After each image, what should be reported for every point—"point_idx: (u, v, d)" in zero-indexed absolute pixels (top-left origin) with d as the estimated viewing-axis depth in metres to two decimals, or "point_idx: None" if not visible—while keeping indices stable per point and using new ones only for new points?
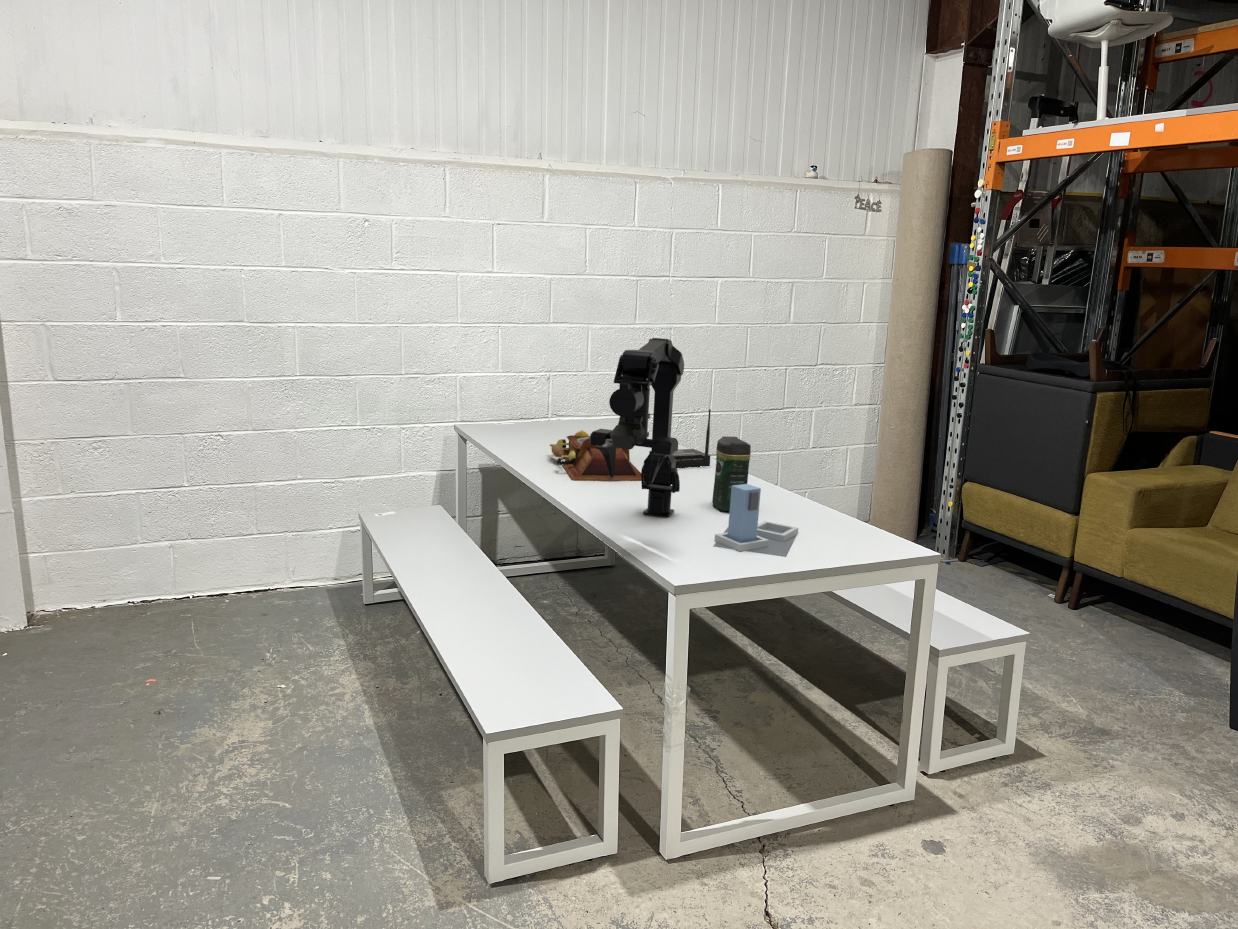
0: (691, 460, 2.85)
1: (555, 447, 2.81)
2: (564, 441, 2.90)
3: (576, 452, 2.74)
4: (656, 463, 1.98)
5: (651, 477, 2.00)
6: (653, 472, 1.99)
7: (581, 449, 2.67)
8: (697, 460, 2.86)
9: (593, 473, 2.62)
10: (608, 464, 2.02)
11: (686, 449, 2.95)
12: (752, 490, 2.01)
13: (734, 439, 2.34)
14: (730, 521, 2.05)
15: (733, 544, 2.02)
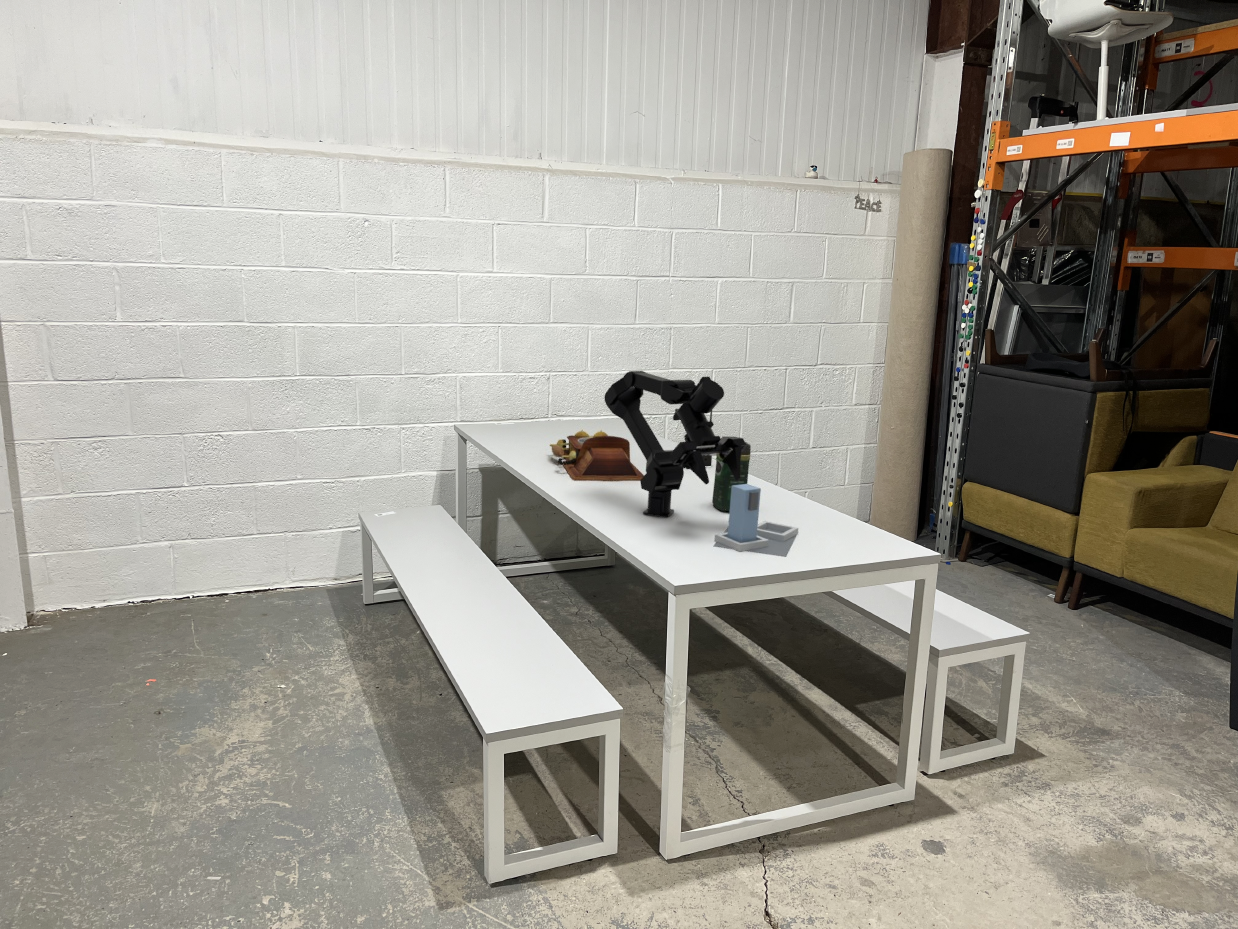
0: None
1: (555, 447, 2.81)
2: (564, 441, 2.90)
3: (577, 452, 2.74)
4: None
5: None
6: None
7: (582, 449, 2.68)
8: None
9: (594, 473, 2.62)
10: None
11: None
12: (752, 490, 2.01)
13: None
14: (730, 521, 2.05)
15: (733, 544, 2.02)
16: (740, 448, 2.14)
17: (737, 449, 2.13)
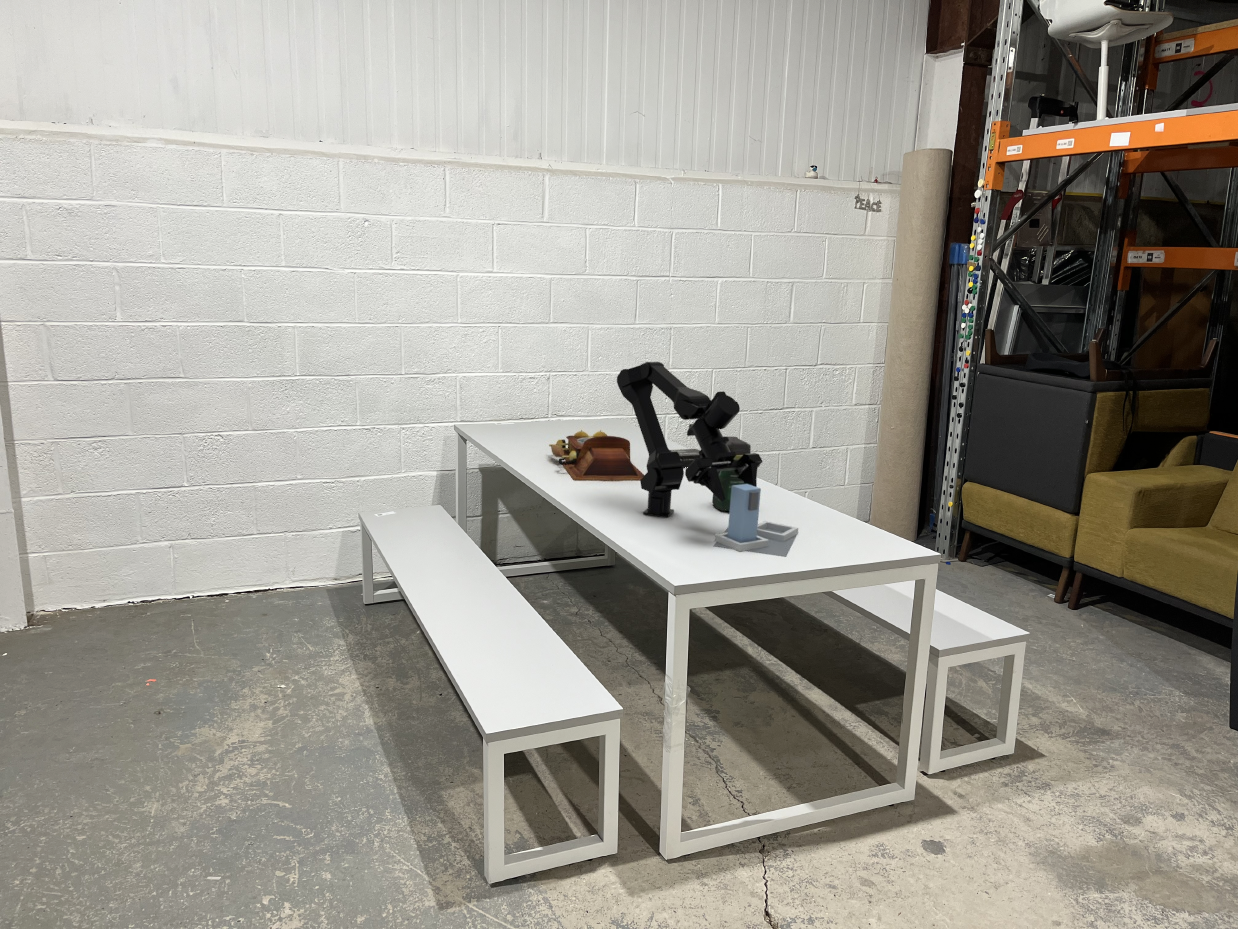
0: (693, 460, 2.85)
1: (555, 447, 2.81)
2: (564, 441, 2.90)
3: (577, 452, 2.74)
4: None
5: None
6: None
7: (582, 449, 2.68)
8: None
9: (594, 473, 2.62)
10: None
11: (688, 449, 2.95)
12: (752, 490, 2.01)
13: (734, 439, 2.34)
14: (730, 521, 2.05)
15: (733, 544, 2.02)
16: (756, 464, 2.10)
17: (753, 465, 2.09)
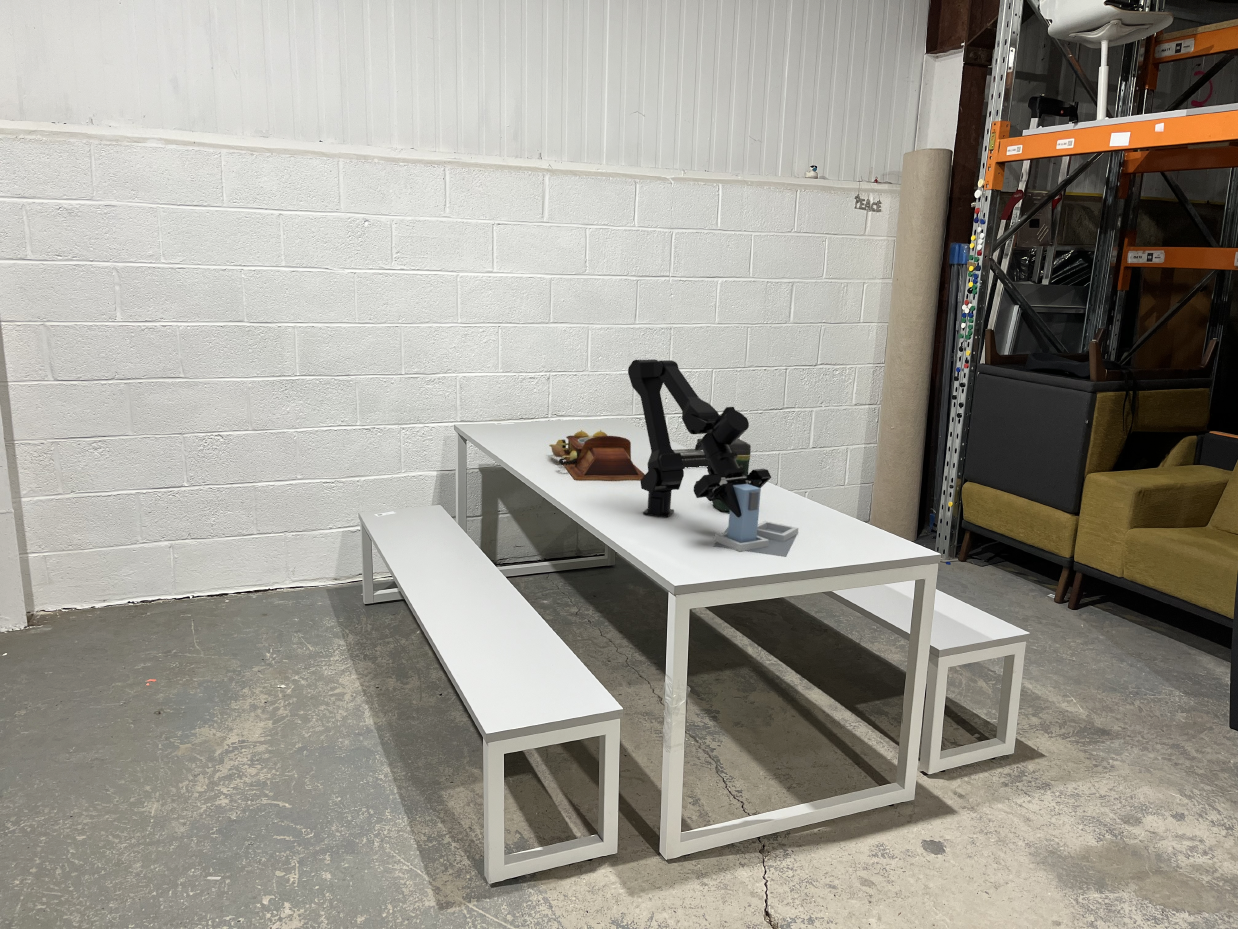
0: (694, 460, 2.85)
1: (556, 447, 2.81)
2: (564, 441, 2.90)
3: (577, 452, 2.74)
4: None
5: None
6: None
7: (583, 449, 2.68)
8: (700, 460, 2.87)
9: (595, 473, 2.62)
10: None
11: (689, 449, 2.95)
12: (752, 490, 2.01)
13: None
14: (730, 521, 2.05)
15: (733, 544, 2.02)
16: (758, 481, 2.07)
17: (755, 482, 2.06)
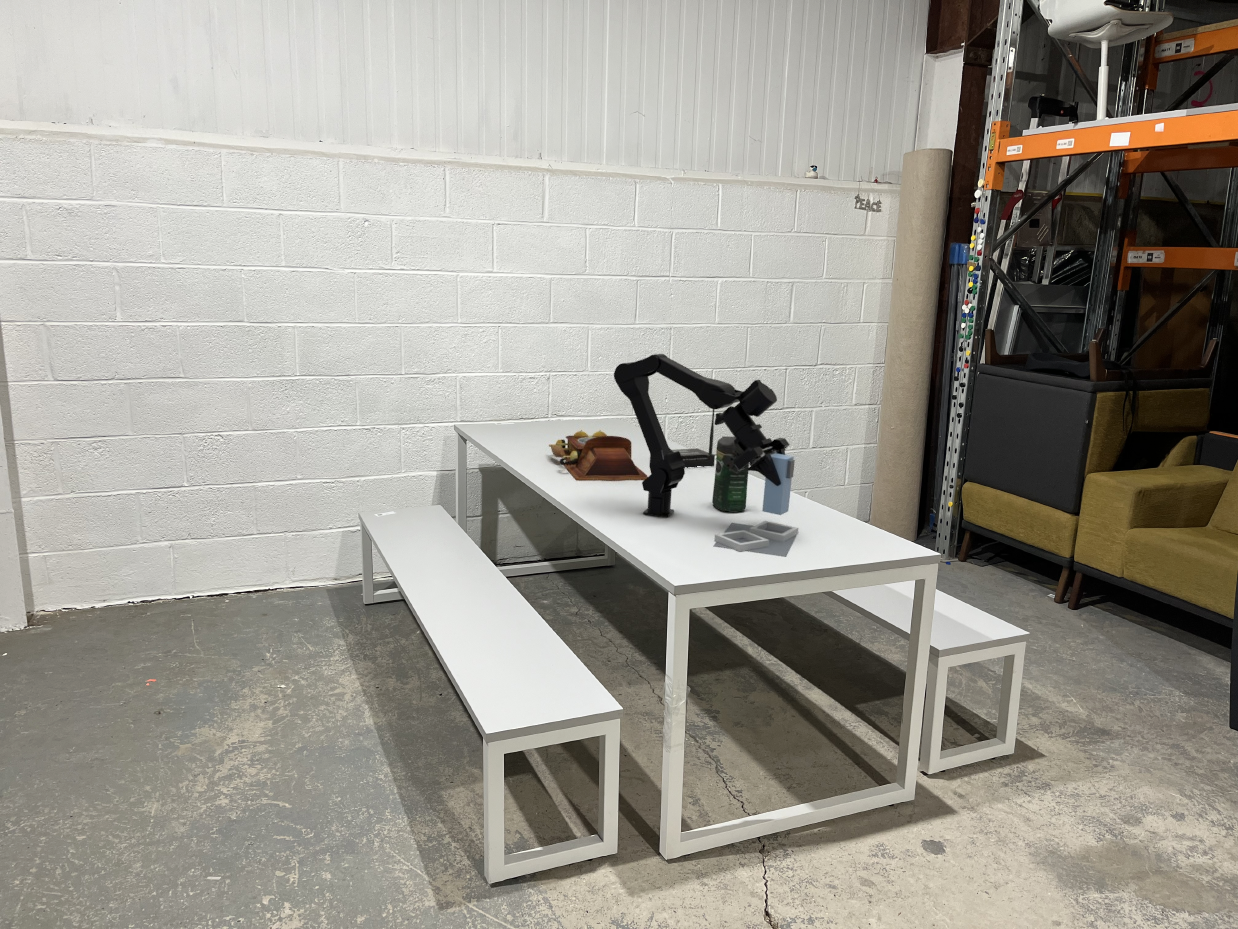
0: (696, 460, 2.86)
1: (556, 447, 2.81)
2: (563, 441, 2.90)
3: (578, 452, 2.74)
4: None
5: None
6: None
7: (584, 449, 2.68)
8: (702, 460, 2.87)
9: (597, 473, 2.62)
10: None
11: (690, 449, 2.96)
12: (789, 458, 2.09)
13: (734, 439, 2.34)
14: (766, 490, 2.11)
15: (733, 544, 2.02)
16: (783, 450, 2.15)
17: (782, 451, 2.14)
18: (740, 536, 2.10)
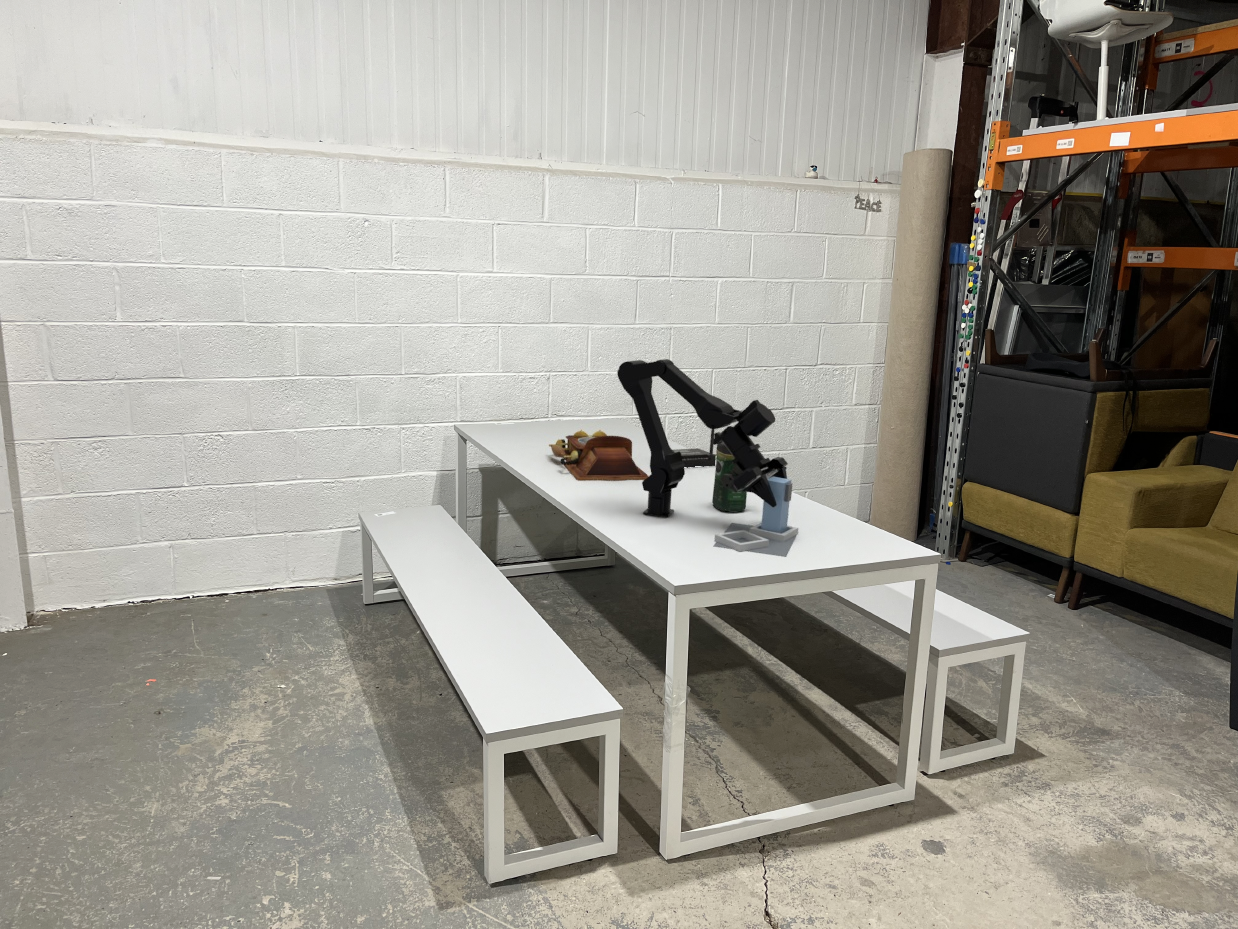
0: (697, 459, 2.86)
1: (556, 447, 2.81)
2: (563, 441, 2.90)
3: (578, 452, 2.74)
4: None
5: None
6: None
7: (585, 449, 2.68)
8: (703, 459, 2.87)
9: (598, 473, 2.63)
10: None
11: (691, 449, 2.96)
12: (787, 482, 2.11)
13: None
14: (764, 514, 2.13)
15: (733, 544, 2.02)
16: (785, 468, 2.17)
17: (783, 469, 2.17)
18: (740, 536, 2.10)
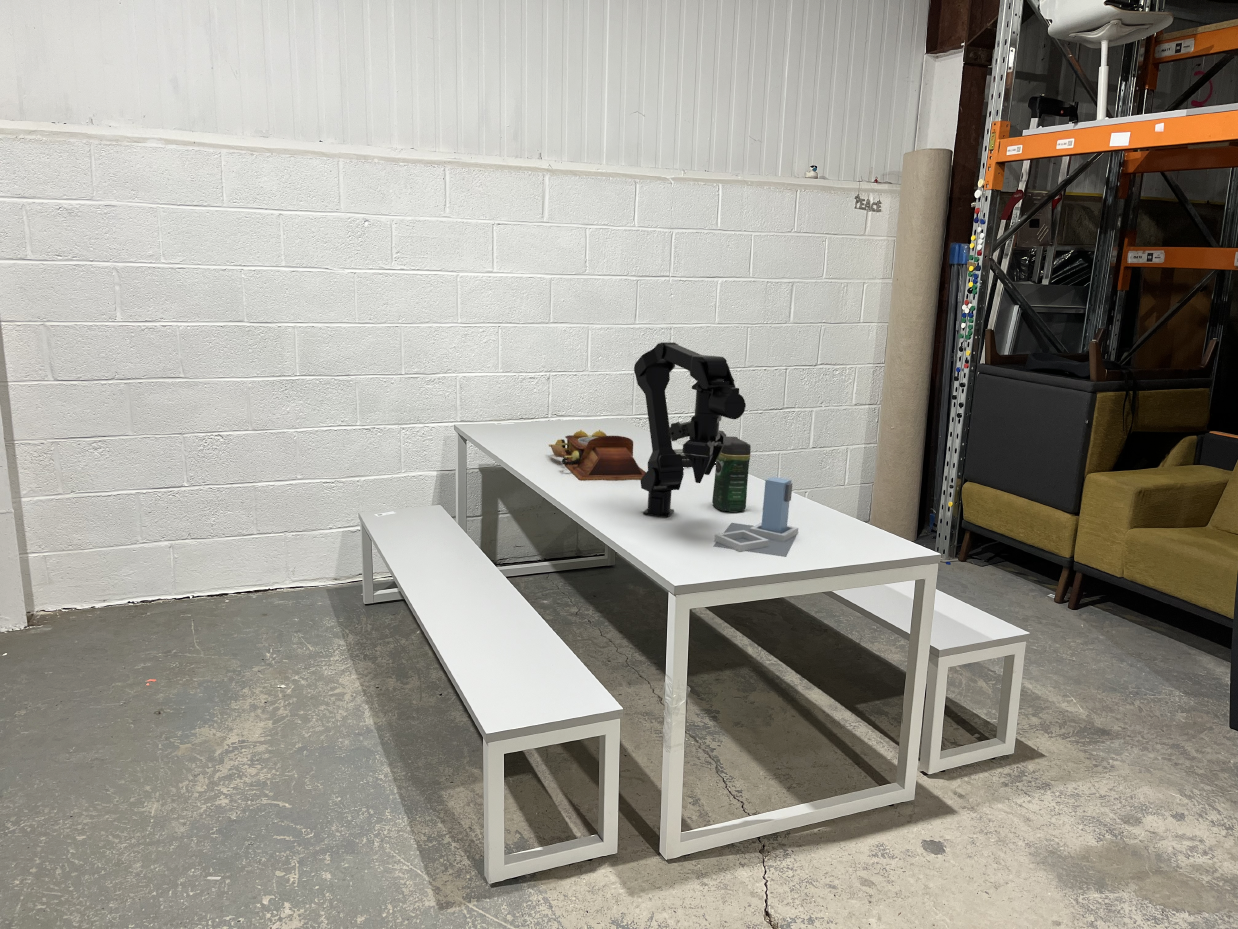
0: None
1: (557, 447, 2.81)
2: (563, 441, 2.90)
3: (579, 452, 2.74)
4: None
5: None
6: None
7: (586, 449, 2.68)
8: None
9: (600, 473, 2.63)
10: None
11: None
12: (787, 482, 2.11)
13: (734, 439, 2.34)
14: (764, 514, 2.13)
15: (733, 544, 2.02)
16: None
17: (721, 448, 2.16)
18: (740, 536, 2.10)
